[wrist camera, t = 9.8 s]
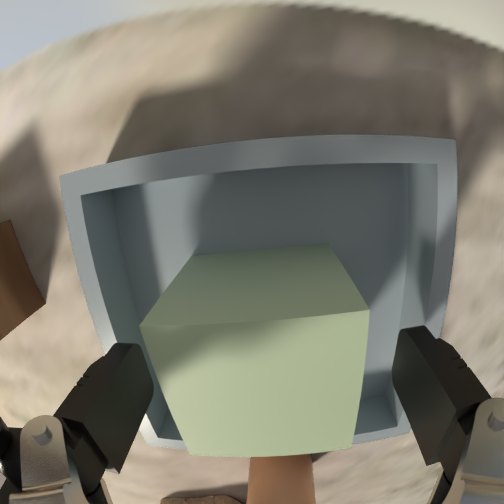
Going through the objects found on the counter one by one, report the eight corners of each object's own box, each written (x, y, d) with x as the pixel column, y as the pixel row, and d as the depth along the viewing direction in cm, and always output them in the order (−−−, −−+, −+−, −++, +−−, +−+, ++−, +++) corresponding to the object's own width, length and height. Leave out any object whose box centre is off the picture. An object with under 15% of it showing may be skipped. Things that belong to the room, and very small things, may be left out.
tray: (415, 141, 10) (455, 139, 7) (392, 393, 14) (408, 432, 11) (102, 169, 11) (59, 175, 8) (163, 405, 15) (147, 445, 12)
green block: (328, 243, 11) (369, 309, 6) (329, 356, 12) (350, 447, 7) (191, 256, 11) (138, 325, 6) (213, 364, 13) (190, 454, 8)
